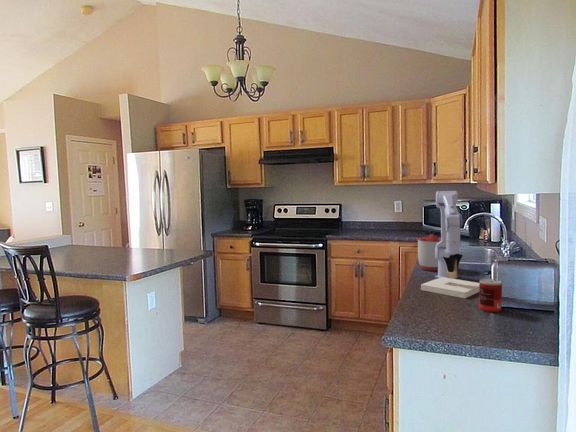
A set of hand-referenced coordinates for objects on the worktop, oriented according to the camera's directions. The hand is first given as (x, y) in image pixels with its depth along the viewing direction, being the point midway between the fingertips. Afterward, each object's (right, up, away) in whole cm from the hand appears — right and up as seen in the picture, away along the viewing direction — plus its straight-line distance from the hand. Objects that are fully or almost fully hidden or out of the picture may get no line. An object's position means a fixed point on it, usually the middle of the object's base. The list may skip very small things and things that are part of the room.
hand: (452, 271), depth 182 cm
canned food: (+3, -11, -28) cm, 30 cm away
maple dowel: (0, -3, 0) cm, 3 cm away
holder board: (0, -9, +1) cm, 8 cm away
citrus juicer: (+7, -5, +45) cm, 46 cm away
